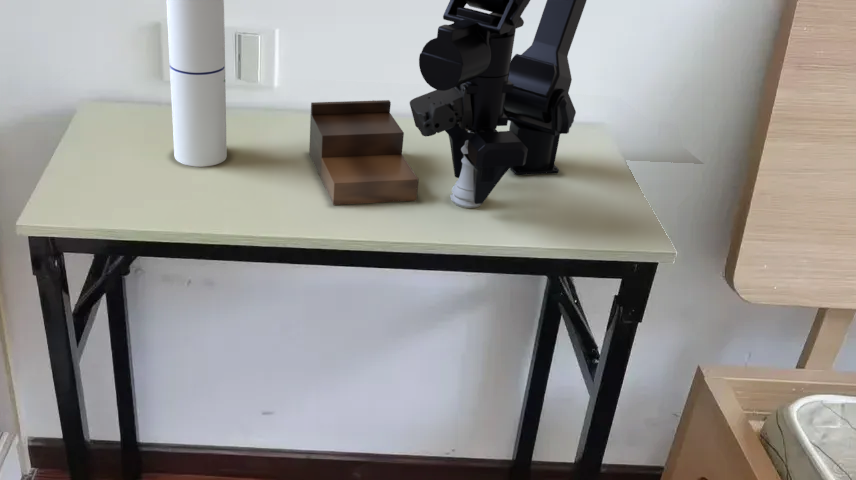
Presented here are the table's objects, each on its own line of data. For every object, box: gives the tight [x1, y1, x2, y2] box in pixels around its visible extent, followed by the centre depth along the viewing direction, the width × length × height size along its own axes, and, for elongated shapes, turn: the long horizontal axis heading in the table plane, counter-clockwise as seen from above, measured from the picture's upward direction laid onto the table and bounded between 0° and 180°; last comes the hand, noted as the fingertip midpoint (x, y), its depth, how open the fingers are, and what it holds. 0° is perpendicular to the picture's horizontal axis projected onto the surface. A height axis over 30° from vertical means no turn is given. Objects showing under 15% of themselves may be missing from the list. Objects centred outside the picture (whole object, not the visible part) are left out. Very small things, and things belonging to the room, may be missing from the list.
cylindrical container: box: [165, 0, 228, 168], centre depth 125 cm, size 7×7×25 cm
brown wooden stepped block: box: [308, 99, 419, 206], centre depth 127 cm, size 11×16×8 cm
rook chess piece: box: [449, 140, 482, 209], centre depth 122 cm, size 4×4×8 cm
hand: (468, 190), depth 124 cm, fingers open, 7 cm apart
